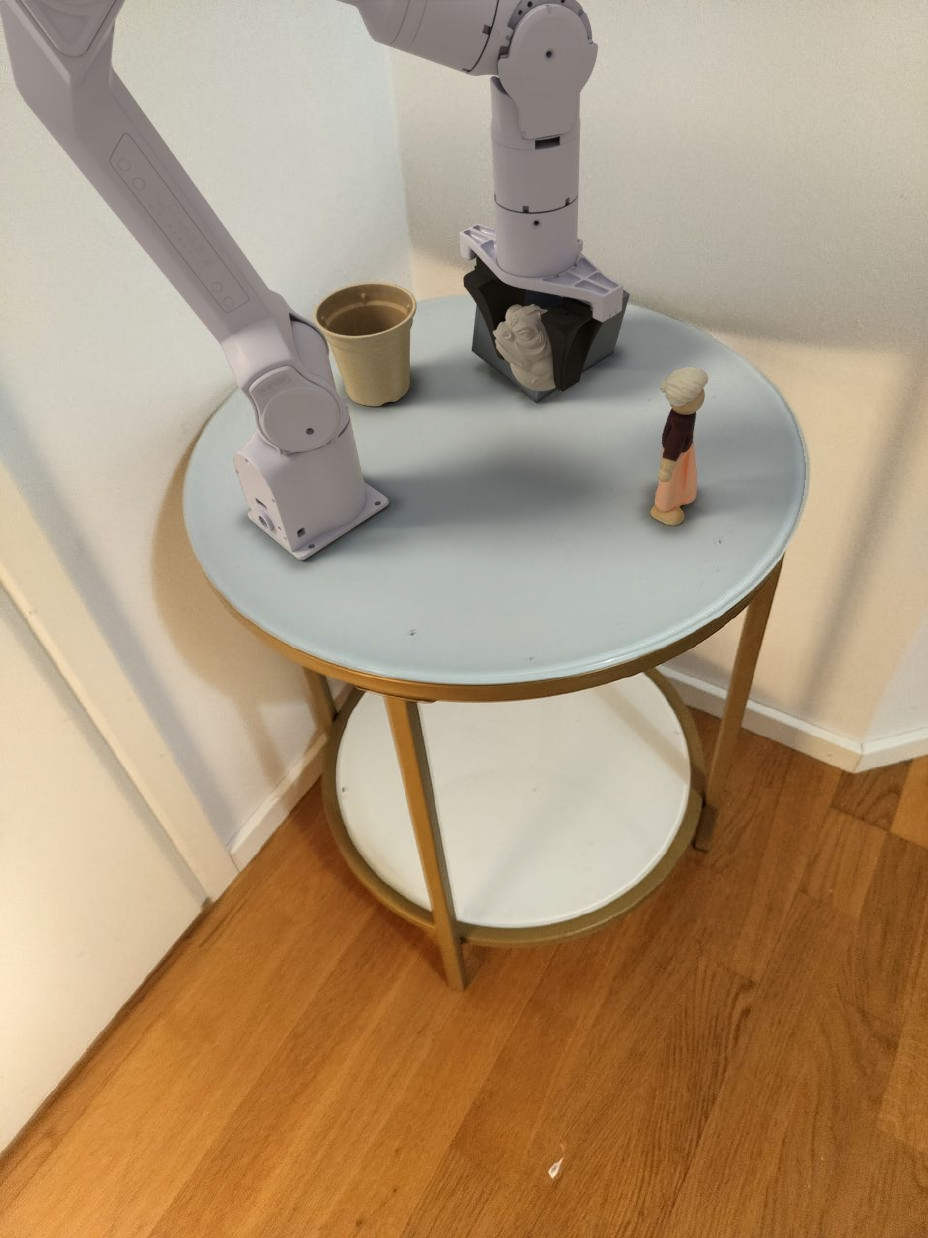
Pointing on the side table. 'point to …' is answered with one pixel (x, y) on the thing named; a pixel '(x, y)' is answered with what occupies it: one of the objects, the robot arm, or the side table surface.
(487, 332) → the basket
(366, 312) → the flower pot
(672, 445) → the grandmother figurine
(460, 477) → the side table surface
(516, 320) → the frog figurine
